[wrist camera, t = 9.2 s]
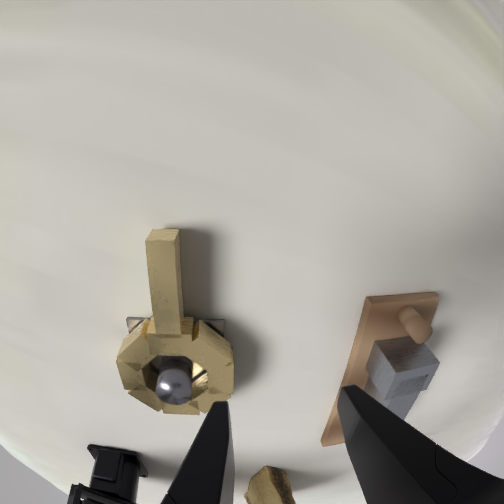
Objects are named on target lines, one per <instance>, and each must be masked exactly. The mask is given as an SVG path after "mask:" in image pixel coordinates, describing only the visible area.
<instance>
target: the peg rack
mask: <svg viewBox="0 0 504 504" xmlns="http://www.w3.org/2000/svg"><path fill="white" fill-rule="evenodd" d="M439 299H440V297H439V296H438V295H436V294H435V293H434V292H428V293H416V294H403V295H390V296H375V297H366V299H365V303H364V307H363V311H362V315H361V319H360V323H359V326H358V330H357V334H356V337H355V341H354V344H353V348H352V351H351V355H350V358H349V361H348V364H347V368H346V371H345V374H344V377H343V380H342V383H341V386H340V389H339V392H338V395H337V398H336V401H335V404H334V406H333V409H332V412H331V414H330V417H329V420H328V422H327V425H326V428H325V430H324V433H323V435H322V438H321V443H322V446H323V447H325V446H330V445H336V444H341V443H345V439H344V435H343V431H342V427H341V423H340V418H339V414H338V410H337V401H338V397H339V394H340V390H341V388H342V386H345V385H350V384H355V385H357V386H358V387H360V388H361V389H362V390H363V389H364V387H365V384H366V382H367V379H368V377H369V374H368V372H367V371H366V369H365V367H366V364H367V361H368V359H369V356H370V353H371V350H372V347H373V344H374V341H377V340H384V339H391V338H398V337H404V336H411V337H412V338H413V339H414V341H415V342H416V343H417V344H421V343H424V342H425V341H427V340H428V339H429V337H430V336H431V334H432V327H431V326H430V325H431V322H432V319H433V316H434V313H435V311H436V308H437V305H438V302H439Z"/></svg>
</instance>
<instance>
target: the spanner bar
mask: <svg viewBox="0 0 504 504" xmlns="http://www.w3.org/2000/svg"><path fill="white" fill-rule="evenodd" d="M439 364H440V362H439V361H438V359H437V358H436V357H435V356H434V355H433V353H432V352H431V351H430V350H429V349H428V348H427V346H426V345H425V344H424V343H421V344H417V343H416V342H415V341H414V339H413V338H412V337H411V336H404V337H398V338H391V339H384V340H377V341H374V344H373V347H372V350H371V353H370V356H369V359H368V361H367V364H366V367H365V369H366V371H367V372H368V374H369V377H368V379H367V382H366V384H365V387H364V389H363V390H364V391H365V392H366V393H368V394H369V395H370V396H372V397H373V398H374V399H376V400H377V401H378V402H380V403H381V404H382V405H384V406H385V407H386V408H388V409H389V410H390V411H392V412H393V413H394V414H396V415H397V416H399V417H400V418H401V419H403V420H404V419H405V417H406V415H407V414H408V412H409V410H410V409H411V407H412V405H413V403H414V402H415V400H416V398H417V396H418V394H419V393H420V391H423V390H426V389H427V387H428V386H429V384H430V382H431V380H432V378H433V376H434V374H435V372H436V370H437V368H438V366H439Z"/></svg>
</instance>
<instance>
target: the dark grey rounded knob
mask: <svg viewBox="0 0 504 504" xmlns="http://www.w3.org/2000/svg"><path fill="white" fill-rule="evenodd" d="M144 319H146V318H131V317H127V319H126V321H127V326H128V331H129V334H130V333H131V332H132V331H133V330H134V329H135V328H136V327H137V326H138V325H139V324H140V323H141V322H142V321H143V320H144ZM147 319H148V320H149V321H150V320H151V318H147ZM197 321H198V319H194V324H195V323H196V322H197ZM201 321H203V322H204V323H205V324H206V325H208V326H209V327H210V328H211V329H213V330H214V331H215V332H217V333H218V334H219V335H220V336H222V337H223V338H224V320H201ZM149 366H150V369H151V370H152V371H154V372H155V373H157V374H158V375H159V376H158V381H157V386H156V395H157V396H158V398H159V399H160V400H162V401H163V402H165V403H168V404H171V405H182V404H185V403H187V402H188V401H189V400H190V399H191V391H192V382H194V381H195V380H197V379H198V378H200V377H201V376H202V375H204V374H205V373H207V371H206V370H205V369H203V368H202V367H200V366H199V365H198V364H196V363H195V362H193V361H192V360H190V359H189V358H188V357H186V356H164V355H157V356H156V357H155V358H153V359H152V360H151V361H150V362H149Z"/></svg>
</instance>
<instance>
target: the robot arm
mask: <svg viewBox="0 0 504 504" xmlns="http://www.w3.org/2000/svg"><path fill="white" fill-rule="evenodd" d="M337 410H338V414H339V418H340V423H341V427H342V431H343V435H344V439H345V444H346V447H347V451H348V454H349V456H350V459H351V462H352V464H353V467H354V470H355V472H356V475H357V478H358V480H359V483H360V486H361V488H362V491H363V494H364V497H365V499H366V502H367V504H504V479H501V478H498V477H496V476H493V475H491V474H489V473H487V472H485V471H483V470H481V469H479V468H477V467H475V466H473V465H471V464H469V463H467V462H465V461H463V460H461V459H459V458H458V457H456V456H454V455H453V454H451V453H450V452H448V451H447V450H445V449H444V448H442V447H441V446H439V445H438V444H437V445H436V443H435V442H433V441H432V440H431V439H429V438H428V437H426V436H425V435H424V434H422V433H421V432H419V431H418V430H417V429H415V428H414V427H412V426H411V425H410V424H408V423H407V422H405V421H404V420H403V419H401V418H400V417H399V416H397V415H396V414H394V413H393V412H392V411H390V410H389V409H388V408H386V407H385V406H384V405H382V404H381V403H380V402H378V401H377V400H376V399H374V398H373V397H372V396H370V395H369V394H368V393H366V392H365V391H364V390H362V389H361V388H360V387H358V386H357V385H355V384H350V385H345V386H342V388H341V390H340V394H339V397H338V401H337ZM87 449H88V450H89V452H90V453H91V455H92V456H93V458H94V459H95V463H94V467H93V472H92V476H91V480H90V485H89V487H86V486H84V485H83V484H81V483H79V484H78V485H74V484H72V486H71V490H70V494H69V498H68V502H67V504H136V498H137V490H138V482H139V477H148V473H147V471H146V469H145V468H144V466H143V464H142V462H141V460H140V458H139V456H138V454H137V453H135V452H129V451H122V450H115V449H109V448H104V447H98V446H93V445H88V447H87ZM234 470H235V465H234V453H233V442H232V431H231V420H230V412H229V404H228V402H227V401H215V402H213V404H212V406H211V408H210V410H209V412H208V414H207V416H206V418H205V420H204V422H203V424H202V426H201V428H200V430H199V432H198V434H197V436H196V438H195V439H194V441H193V443H192V445H191V447H190V449H189V451H188V453H187V455H186V457H185V459H184V461H183V463H182V465H181V467H180V469H179V471H178V472H177V474H176V476H175V478H174V480H173V482H172V484H171V486H170V488H169V490H168V491H167V492H168V494H166V495H165V497H164V499H163V500H162V502H161V504H233V493H234ZM80 498H82V499H84V500H83V501H82V500H80Z"/></svg>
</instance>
